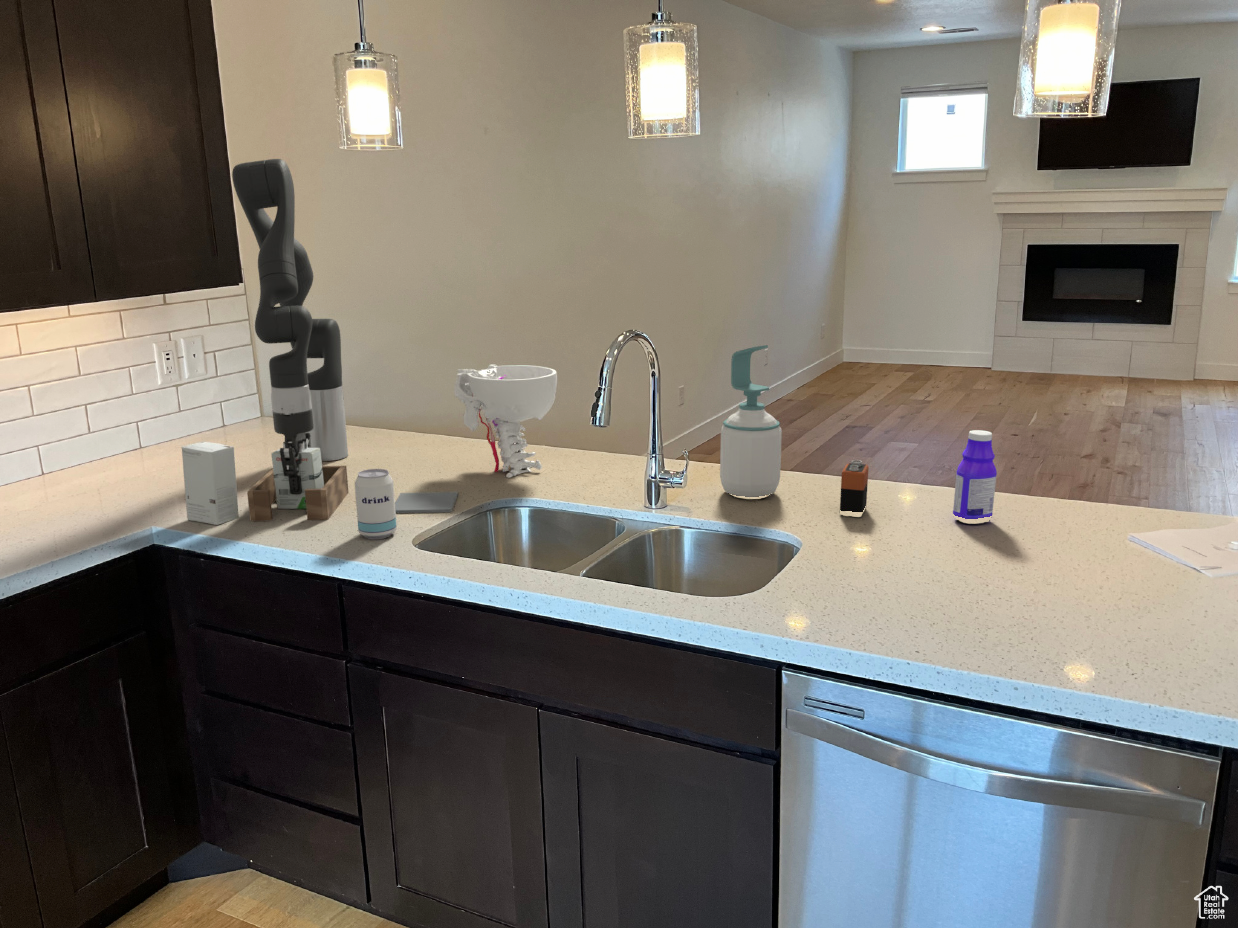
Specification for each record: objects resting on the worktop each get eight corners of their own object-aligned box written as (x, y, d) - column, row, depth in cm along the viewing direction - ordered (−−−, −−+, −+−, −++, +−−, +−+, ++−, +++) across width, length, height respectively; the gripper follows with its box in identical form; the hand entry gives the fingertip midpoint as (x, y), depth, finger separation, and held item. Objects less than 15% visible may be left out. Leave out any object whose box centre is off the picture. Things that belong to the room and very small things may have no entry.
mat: (400, 495, 209) (400, 492, 209) (458, 494, 210) (458, 491, 210) (390, 513, 198) (390, 510, 198) (451, 511, 198) (451, 509, 198)
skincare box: (186, 520, 195) (177, 447, 191) (210, 512, 200) (201, 440, 196) (219, 526, 191) (210, 451, 187) (242, 517, 196) (234, 443, 193)
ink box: (327, 502, 205) (322, 446, 202) (317, 509, 200) (312, 452, 197) (286, 501, 206) (280, 445, 203) (276, 508, 201) (270, 452, 198)
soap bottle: (750, 506, 200) (754, 351, 192) (707, 493, 209) (709, 344, 201) (792, 494, 207) (797, 345, 199) (748, 482, 217) (752, 339, 209)
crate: (277, 494, 211) (274, 466, 210) (348, 492, 212) (346, 465, 210) (250, 521, 194) (247, 491, 192) (328, 519, 194) (325, 489, 193)
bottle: (977, 514, 193) (985, 427, 189) (998, 523, 188) (1006, 433, 184) (946, 519, 191) (953, 430, 186) (966, 528, 186) (974, 437, 181)
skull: (573, 464, 232) (571, 367, 226) (539, 486, 215) (535, 381, 209) (477, 456, 240) (473, 362, 234) (437, 476, 223) (431, 375, 217)
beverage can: (359, 542, 181) (354, 479, 178) (358, 531, 187) (353, 469, 184) (398, 539, 183) (393, 476, 180) (395, 527, 189) (391, 466, 186)
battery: (866, 508, 198) (869, 459, 195) (861, 518, 192) (864, 468, 189) (844, 506, 199) (846, 458, 197) (839, 516, 193) (841, 466, 191)
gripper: (283, 400, 204) (291, 480, 209) (261, 415, 190) (271, 500, 195) (320, 400, 205) (327, 479, 209) (301, 415, 191) (309, 499, 195)
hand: (300, 489), depth 202 cm, fingers closed on ink box, 5 cm apart
